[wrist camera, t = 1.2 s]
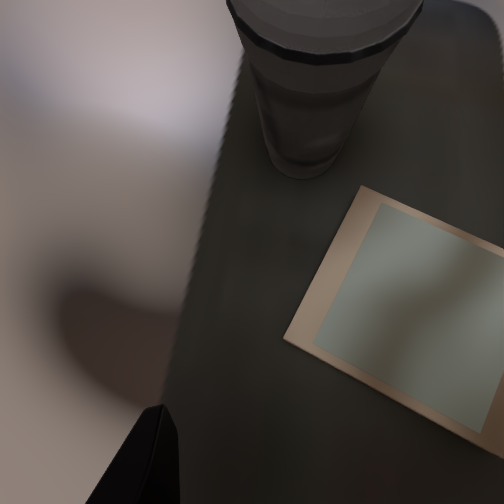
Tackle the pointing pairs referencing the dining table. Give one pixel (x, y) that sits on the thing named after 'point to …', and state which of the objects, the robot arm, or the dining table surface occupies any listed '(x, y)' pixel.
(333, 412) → the dining table surface
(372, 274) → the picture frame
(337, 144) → the beverage cup
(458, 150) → the dining table surface
